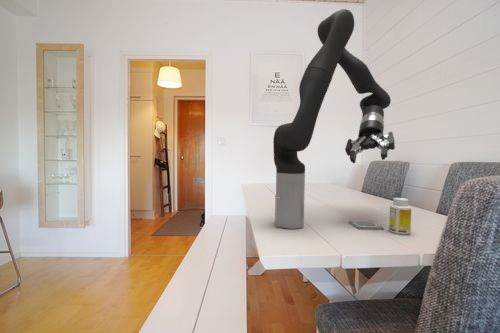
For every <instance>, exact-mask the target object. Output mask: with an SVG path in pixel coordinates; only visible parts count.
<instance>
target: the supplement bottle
mask: <svg viewBox="0 0 500 333" xmlns="http://www.w3.org/2000/svg"><path fill="white" fill-rule="evenodd" d="M388 220H389V223H388V224H389V226H388V229H389V232H391V233H394V234H398V235H410V233H411V231H412V230H411V226H412V222H411V221H412V206H411V205H409V199H407V198H404V197H403V198H402V197H392V204H390V205H389V219H388Z"/></svg>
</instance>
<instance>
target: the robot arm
mask: <svg viewBox="0 0 500 333" xmlns="http://www.w3.org/2000/svg"><path fill="white" fill-rule="evenodd" d="M354 30H355V17H354V14H353V13H352V12H351V11H350V10H349V9H346V8H345V9H344V8H343V9H342V8H341V9H339V10H337V11H335V12H333V13H331V14H330V15H329V16H328V17H326V18H325V19H323V20H322V21H321V22H320V23H319V24H318V26H317V36H318V37H317V38H319V41H320V43H321V44H322V46H321V47H320V49H318V51H317V52H316V53H315V55H314V56H313V57H312V59H311V60H310V61H309V63H308V65H307V66H306V68H305V70H304V72H303V74H302V77H301V80H300V83H299V87H298V90H299V91H298V93H299V94H298V95H299V100H300V101H299V106H298V110H297V112H296V115H295V116H294V118H293V120H292V122H289V123H288V122H287V123H284V124H281V125H279V126H278V127H276V129H275V131H274V134H273V162H274V165H275V170H276V172H275V174H276V176H275V177H276V178H275V181H276V182H275V196H274V197H275V198H274V199H275V200H274V224H275V227H276V228H282V229H290V230H291V229H292V230H293V229H294V230H296V229H301V228H303V227H304V226H305V191H306V188H305V186H306V184H305V183H306V181H305V179H306V166H305V164H304V162H301V160H300V159H299V157H298V152H301V151H304V150H306V149H307V148H308V147H309V145H310V143H311V141H312V138H313V134H314V131H315V128H316V124H317V120H318V117H319V113H320V111H321V107H322V105H323V102H324V99H325V96H326V93H327V92H328V90H329V88H330V85H331V82H332V80H333V76H334V73H335V71H336V69H337V68H338V67H337V66H338V65H339V66H340V67H341V68H342V70H343V71H344V72H345V74H346V75H347V77H348V79H349V80H350V83H351V84H352V86H353V88H354V90H355V92H357V94H360V95H362V94H363V95H364V94H369V93H370V94H369V95H367V96H364V97H363V98H362V99H361V100H360V102H359V107H360V110H361V114H362V117H361V120H360V124H359V129H358V130H359V131H358V136H357V138H356V139H355V140H353V139H351V138H349V139H348V140H347V143H346V145H345V149H344V150H345V153H346V155H347V156H349V159H350V162H352V164H355V163H356V161H357V155H358V154H359V153H360V154H361V153H362V152H363V151H365V150H366V151H367V150H369V149H370V150H371V149H379V150H380V158H381V160H382V161H383V160H386V158H387V157H388V154H389V153H388V152H389V150H395V149H396V146H395V145H396V144H395V137H394V133H393V131H390V132H388V134H385V135H384V129H385V122H384V118H385V109H387V108H388V107H389V106H390V105H391V101H392V100H391V97H390V94H388V92H387V91H386V90H384V88H383V87H382V86H381V85H379V83H378V82H377V81H376V80H375V78H374V77H373V74H372V72H371V71H370V69H369V67H368V65H367V64H366V63H365V62H364V61H363V60H361V59H359V58H358V57H356V56H355V55H353V53H351V52H350V51H348V49H347V48H346V46H347V44H348V42H349V41H350V39H351V37H352V36H353V32H354ZM385 140H386V141H387V143H386V142H384V141H385Z"/></svg>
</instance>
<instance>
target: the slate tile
mask: <svg viewBox="0 0 500 333" xmlns="http://www.w3.org/2000/svg"><path fill="white" fill-rule="evenodd" d="M347 221H348V223H349V224H351V226H353V227H354V228H356V229H357V230H382V231H384V227H383V226H382V225H380V224H378V223H377V222H374V221H373V220H347Z"/></svg>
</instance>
